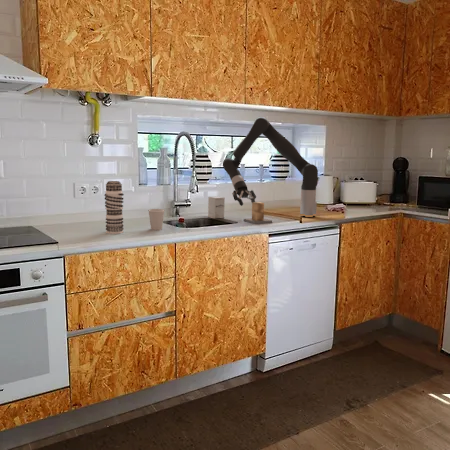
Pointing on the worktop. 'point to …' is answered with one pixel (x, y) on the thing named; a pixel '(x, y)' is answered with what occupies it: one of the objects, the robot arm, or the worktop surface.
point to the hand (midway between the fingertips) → (248, 204)
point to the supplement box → (216, 207)
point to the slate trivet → (258, 221)
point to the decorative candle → (114, 207)
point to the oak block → (257, 211)
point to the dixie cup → (156, 218)
